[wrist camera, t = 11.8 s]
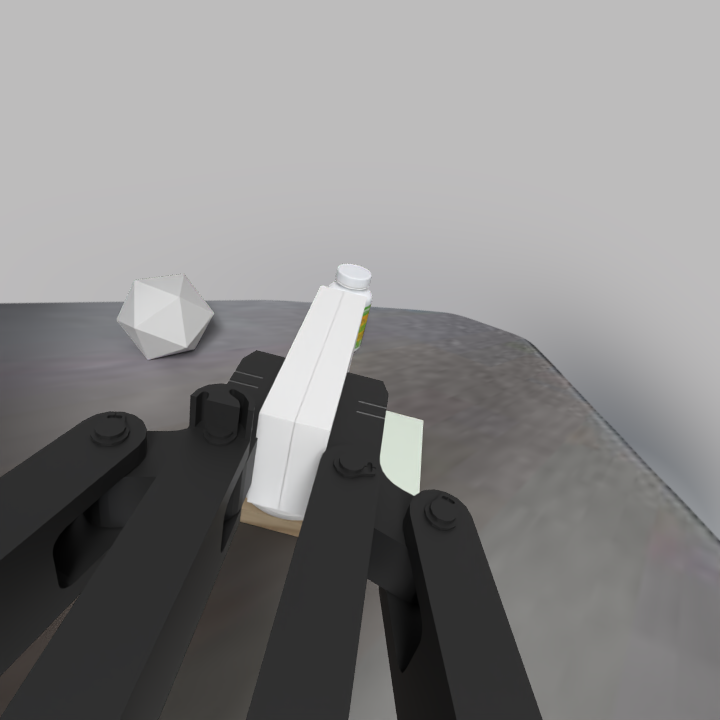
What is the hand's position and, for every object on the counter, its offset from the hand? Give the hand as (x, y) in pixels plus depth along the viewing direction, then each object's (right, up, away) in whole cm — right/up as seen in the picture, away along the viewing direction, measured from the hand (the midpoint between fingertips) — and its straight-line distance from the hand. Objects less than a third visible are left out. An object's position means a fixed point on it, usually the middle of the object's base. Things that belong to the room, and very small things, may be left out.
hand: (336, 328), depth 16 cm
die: (-20, 0, +38) cm, 43 cm away
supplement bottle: (-2, +1, +46) cm, 46 cm away
